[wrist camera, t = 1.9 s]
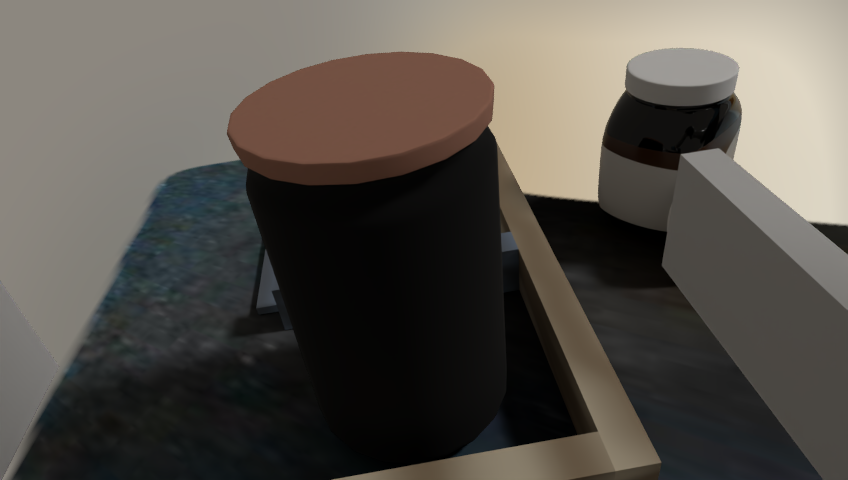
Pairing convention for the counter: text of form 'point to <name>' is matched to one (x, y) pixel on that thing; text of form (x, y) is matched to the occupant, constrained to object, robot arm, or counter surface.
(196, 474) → the counter surface
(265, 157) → the coffee jar
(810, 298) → the robot arm
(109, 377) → the counter surface
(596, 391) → the divider rack
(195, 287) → the counter surface
